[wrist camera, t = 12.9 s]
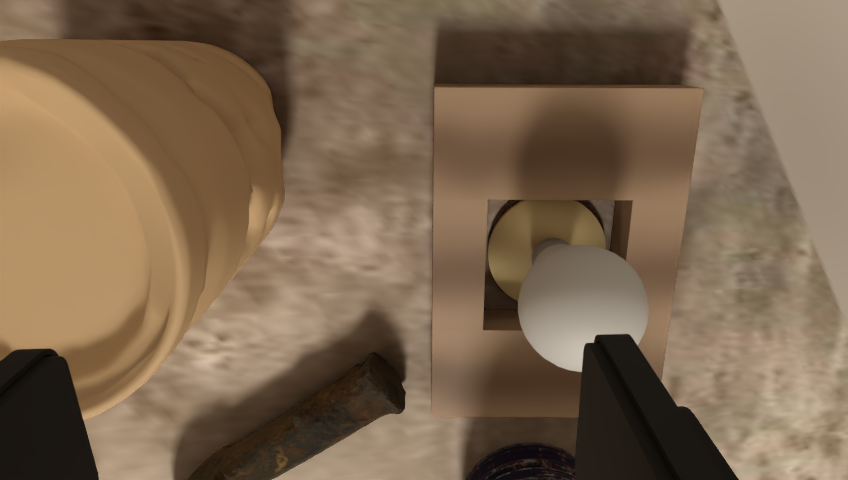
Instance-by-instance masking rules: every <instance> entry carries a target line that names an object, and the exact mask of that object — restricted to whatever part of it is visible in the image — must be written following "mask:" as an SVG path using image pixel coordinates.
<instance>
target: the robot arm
mask: <svg viewBox="0 0 848 480" xmlns="http://www.w3.org/2000/svg"><path fill="white" fill-rule="evenodd" d="M575 475H576V480H738V478H737V477H736V475H735V474H734V472H733V471H732V469H731V468H730V466H729V465H728V463H727V462H726V460H725V459H724V458H723V456H722V455H721V453H720V452H719V450H718V449H717V447H716V446H715V444H714V443H713V441H712V440H711V439H710V437H709V436H708V434H707V433H706V431H705V430H704V428H703V427H702V425H701V424H700V422H699V421H698V419H697V418H696V417H695V415H694V414H693V413H692V412H691V410H690V409H689V408H686V407H684V406H680V407H677V405H676V404H675V402H674V401H673V399H672V398H671V396H670V394H669V393H668V391H667V390H666V388H665V387H664V385H663V384H662V382H661V381H660V379H659V378H658V376H657V375H656V373H655V372H654V370H653V369H652V367H651V365H650V364H649V362H648V361H647V359H646V358H645V356H644V355H643V353H642V352H641V350H640V349H639V347H638V346H637V344H636V343H635V341H634V339H633V338H632V337H631V336H630V334H603V335H596V336H595V339H594V343H586V344H585V346H584V351H583V363H582V376H581V389H580V402H579V415H578V428H577V441H576V454H575ZM0 480H99V477H98V472H97V468H96V464H95V461H94V457H93V453H92V450H91V446H90V443H89V439H88V435H87V432H86V428H85V424H84V421H83V417H82V413H81V410H80V406H79V402H78V399H77V395H76V392H75V388H74V384H73V381H72V377H71V373H70V370H69V366H68V363H67V361H66V359H65V358H64V357H61V356H59V355H58V354H57V352H56V351H55V350H53V349H50V348H49V349H18V350H15V351H13V352H11V353H10V354H9V355H7V356H6V357H5V358H4V359H2V360H1V361H0Z"/></svg>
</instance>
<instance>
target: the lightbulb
mask: <svg viewBox="0 0 848 480" xmlns="http://www.w3.org/2000/svg"><path fill="white" fill-rule="evenodd" d="M532 265H533V267H532V268H531V270H530V271H529V272H528V274H527V275H526V277H525V279H524V281H523V284H522V286H521V290H520V294H519V299H518V315H519V320H520V324H521V328H522V330H523V332H524V334H525V337H526V339H527V340H528V341H529V343H530V344H531V345H532V347H533V348H534V349H535V350H536V351H537V352H538V353H539V354H540V355H541V356H542V357H543V358H544V359H546V360H548V361H550V362H551V363H553V364H555V365H556V366H558V367H561V368H564V369H567V370H571V371H577V372H582V363H583V351H584V346H585V344H586V343H594V339H595V336H596V335H603V334H630V336H631V337H632V338H633V339H634V341H635V343H636V344H637V345H638V344H639V342H640V341H641V339H642V337H643V335H644V333H645V330H646V327H647V323H648V313H649V306H648V298H647V294H646V291H645V289H644V286H643V283H642V281H641V279H640V277H639V276H638V274H637V273H636V271H635V270H634V269H633V268H632V267H631V266H630V265H629V264H628V263H627V262H626V261H625V260H624V259H623V258H621V257H620V256H618V255H616V254H615V253H613V252H610V251H608V250H605V249H602V248H600V247H596V246H590V245H572V246H571V245H570V244H569V243H567V242H566V241H564V240H562V239H560V238H548V239H545V240H543V241H541V242H540V243H539V244H538V245H537V246H536V247H535V248H534V250H533V253H532Z"/></svg>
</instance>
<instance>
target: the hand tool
mask: <svg viewBox="0 0 848 480" xmlns="http://www.w3.org/2000/svg"><path fill="white" fill-rule="evenodd" d="M405 393H406V392H405V390H404V389H403V386H402V384H401V381H400V379H399V378H398V377H397V376H396V374H395V372H394V371H393V369H392V367H391V366H390V365H389V364H388V362H387V361H386V360H385V359H384V358H382V357H381V356H380V355H379V354H377V353H375V352H374V353H372V354H370V356H369V357H368V359H367V360H366V362H365V363H364V365H363V364H361V365H356V366H355V367H354V368H352V369H350V370H349V373H348V375H347V376H345V377H343V378H342V379H340V380H339V381H337V382H335V383H333V384H332V385H330V386H327V387H325V388H323V389H322V390H321V391H319V392H317V393H315V394H314V395H313V396H312V397H310V398H309V399H308V400H307V401H305V402H304V403H302V404H300V405H298V406H295V407H292V408H291V410H290V411H288V412H286V413H285V414H283V415H282V416H280V417H279V418H277V419H275V420H274V421H272V422H271V423H269V424H268V425H266V426H265V427H263V428H261V429H260V430H258V431H256V432H255V433H253V434H251V435H250V436H248V437H247V438H245V439H243V440H242V441H240V442H238V443H237V444H235V445H234V446H225V447H223V448H221V449H220V450H219V451H217V452H216V453H215V454H213V455H212V456H211V457H210V458H209V459H207V460H206V461H205V462H204V463H202V464H201V466H200V467H199V468H198V469H197V470H196V471H195V472H194V473H193V474H192V475H191V476H190V477H189V478H188V479H187V480H271V479H274V478H276V477H278V476H280V475H281V474H283V473H285V472H287V471H288V470H290V469H292V468H294V467H295V466H297V465H299V464H301V463H303V462H305V461H306V460H308V459H310V458H312V457H313V456H315V455H317V454H319V453H321V452H322V451H324V450H325V449H327V448H329V447H330V446H332V445H334V444H336V443H337V442H339V441H341V440H343V439H344V438H346V437H348V436H350V435H351V434H353V433H354V432H356V431H357V430H359V429H361V428H362V427H364V426H366V425H368V424H369V423H371V422H373V421H374V420H376V419H378V418H380V417H382V416H384V415H387V414H390V413H391V414H400V413H402V412H403V410H404V409H405Z"/></svg>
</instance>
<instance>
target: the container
mask: <svg viewBox="0 0 848 480" xmlns="http://www.w3.org/2000/svg"><path fill="white" fill-rule="evenodd" d="M284 196H285V190H284V182H283V170H282V157H281V129H280V125H279V123H278V121H277V118H276V115H275V113H274V109H273V101H272V95H271V91H270V89H269V87H268V85H267V83H266V82H265V80H264V79H263V78H262V77H261V75H260V74H259V73H258V72H257V71H256V70H255V69H254V68H253V67H252V66H251V65H250V64H248V63H247V62H246V61H244V60H243V59H241V58H240V57H238V56H237V55H236V54H234V53H231V52H229V51H227V50H225V49H222V48H220V47H217V46H214V45H211V44H206V43H198V42H190V41H162V40H79V39H21V40H8V41H0V361H1V360H2V359H4V358H5V357H6V356H7V355H9V354H10V353H11V352H13V351H15V350H18V349H49V348H50V349H53V350H55V351H56V352H57V354H58V355H59V356H61V357H64V358H65V359H66V361H67V363H68V366H69V370H70V373H71V377H72V381H73V384H74V388H75V392H76V395H77V399H78V402H79V406H80V410H81V413H82V417H83V420H85V419H88V418H91V417H93V416H96V415H98V414H100V413H102V412H104V411H105V410H107V409H109V408H111V407H113V406H114V405H116V404H117V403H119V402H120V401H122V400H123V399H125V398H126V397H128V396H129V395H130V394H132V393H133V392H134V391H135V390H137V389H138V388H139V387H140V386H142V385H143V384H144V383H145V382H146V381H147V380H148V379H149V378H150V377H151V376H152V375H153V374H154V373H155V372H156V371H157V370H158V368H159V367H160V366H161V365H162V363H163V362H164V361H165V360H166V358H167V357H168V356H169V355H170V353H171V352H172V351H173V350H174V349H175V348H176V346H177V345H178V343H179V342H180V340H181V339H182V338H183V336H184V334H185V333H186V332H187V331H188V330H189V329H190V328H191V327H192V326H193V325H194V324H195V323H196V322H197V321H198V320H199V319H200V317H201V316H202V315H203V314H204V313H205V312H206V310H207V309H208V308H209V307H210V305H211V304H212V303H213V301H214V300H215V299H216V298H217V296H218V295H219V294H220V293H221V291H222V290H223V289H224V287H225V286H226V285H227V283H228V282H229V281H230V280H231V279H232V278H233V277H234V276H235V275H236V274H237V273H238V272H239V270H240V269H241V268H242V266H243V265H244V264H245V262H246V261H247V260H248V259H249V257H250V256H251V255H252V253H253V252H254V251H255V250H256V249H257V247H258V246H259V245H260V244H261V242H262V241H263V240H264V239H265V237H266V236H267V235H268V234H269V232H270V231H271V229H272V228H273V226H274V223H275V221H276V219H277V217H278V215H279V213H280V210H281V208H282V206H283V203H284Z"/></svg>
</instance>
